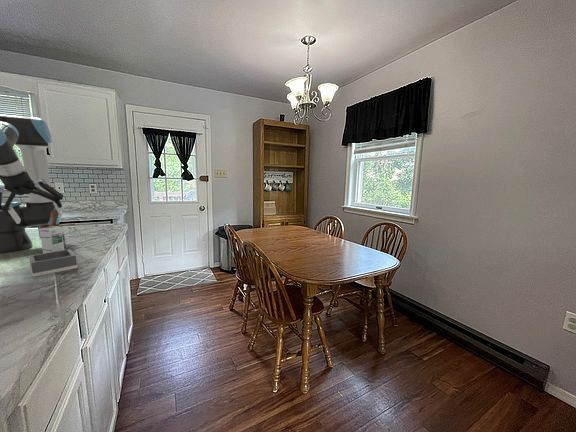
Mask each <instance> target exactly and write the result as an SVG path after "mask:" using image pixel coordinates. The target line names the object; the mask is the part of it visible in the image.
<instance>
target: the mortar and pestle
mask: <svg viewBox="0 0 576 432" xmlns="http://www.w3.org/2000/svg"><path fill="white" fill-rule="evenodd" d="M58 214H59V213H58V211H57V210H52V211H51V221H50V224H49V225H41V226H37V229H38V230H37V231H38V236H39V238H40V239H39V240H41V237H40V231H39V229H42V228H48V227H53V226H61V227H63V224H61V223H58V224H56V221H57V218H58Z"/></svg>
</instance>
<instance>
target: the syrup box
mask: <svg viewBox="0 0 576 432" xmlns="http://www.w3.org/2000/svg"><path fill="white" fill-rule="evenodd" d="M39 231H40V237H41V239H40V243H41V249H42V254H43V253H49V252H56V251H62V250H67V243H66V237H65V231H64V226H62V227H61V226H53V227H48V228H42V229H39ZM39 231H38V232H39ZM40 237H39V238H40Z"/></svg>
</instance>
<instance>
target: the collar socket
mask: <svg viewBox="0 0 576 432" xmlns="http://www.w3.org/2000/svg"><path fill="white" fill-rule="evenodd" d="M28 260H29V269H30V272H31V275H32V278H34V277H38V276H39V277H40V276H44V275H48V274H53V273H58V272H64V271H69V270H73V269H78V268H79V267H78V263H77V256H76V254H75V253H74V251H72V249H70V248H69V249H66V250H62V251H56V252H49V253H43V252H42V253H38V254H33V255H32V254H31V255H28Z"/></svg>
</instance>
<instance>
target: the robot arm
mask: <svg viewBox="0 0 576 432" xmlns="http://www.w3.org/2000/svg"><path fill="white" fill-rule="evenodd" d="M52 142H53V140H52V135H51V132H50V128H49V126H48V124H47V122H46V121H45V120H44V119H42V118H40V117H34V116H24V115H12V114H10V115H9V114H0V181H1V183H2V184H3V185H0V254H2V253H3V254H4V253H10V252H15V251H23V250H25V249H29V248H32V247H33V241H32V240H31V238H30V237H29V235H28V233H27V232H26V228H30V227H38V226H41V225H49V224H50V221H51V211H52V210H57V211H58V213H59V214H58V218H57V221H56V224H60V222H61V219H62V216H63V214H64V213H63V212H64V211H63V210H62V209H63V208H62V207H63V203H62V201H61V200H63V198H64V194H62V193H61V192H60V191H58V190H56V189H55V188H53V187H52V186H51V182H50V181H51V180H50V173H49V168H48V167H49V166H48V162H47V160H48V159H47V155H46V149H48V148H49V144H51V143H52ZM14 146H16V147H17V148H19V149H20V151H21V158H22V161H21V160H20V158H19V157H18V155H17V153H16V151H15V150H14ZM5 191H8V192H10V194H9V195H8V198H7V199H6V202H4V203H2V200H3V193H4V192H5ZM16 195H17V196H23V195H28V199H26V200H25V204H24V203H22V202H21V201H13V200H14V198H15V197H16Z"/></svg>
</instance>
